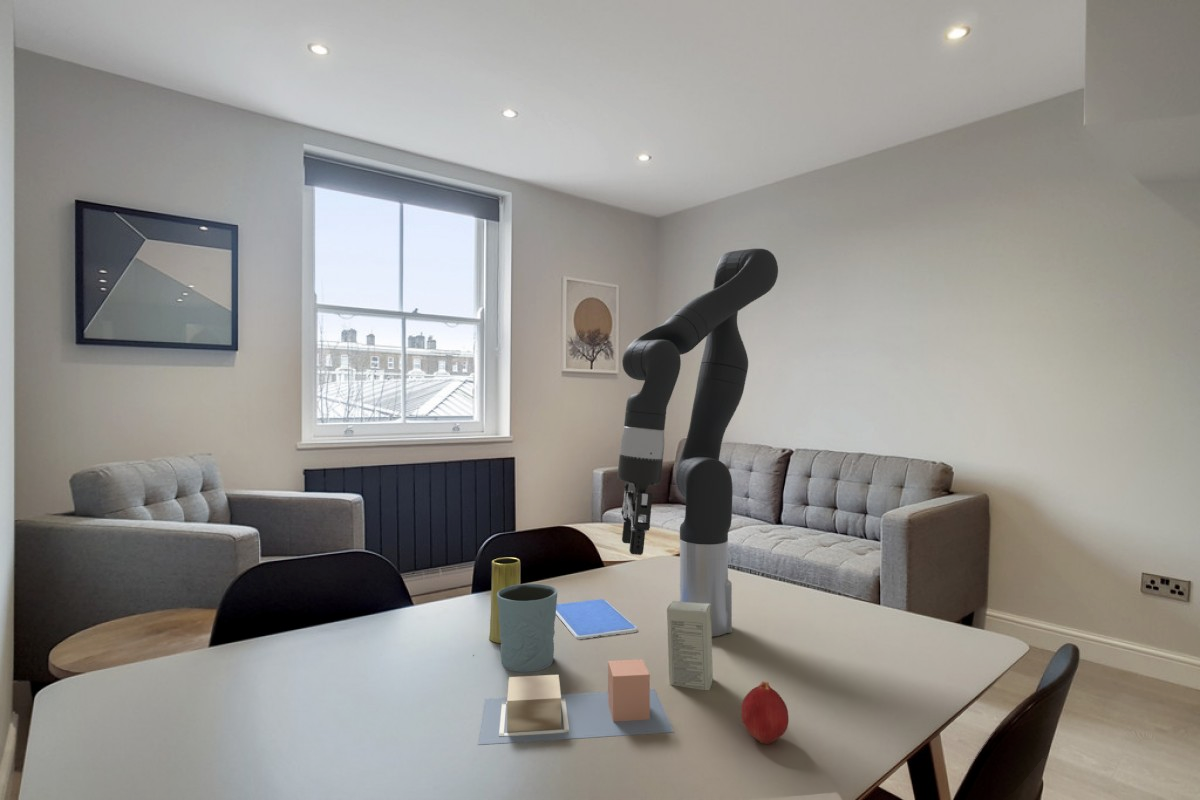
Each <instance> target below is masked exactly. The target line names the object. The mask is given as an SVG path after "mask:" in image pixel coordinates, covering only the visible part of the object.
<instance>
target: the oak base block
mask: <svg viewBox="0 0 1200 800" xmlns="http://www.w3.org/2000/svg"><path fill="white" fill-rule="evenodd" d="M559 676H560V675H559V674H546V675H525V676H524V675H522V676H509V677H508V683H507V685H508V686H507V697H506V698H507V732H518V731H534V730H550V729H561V694H562V693H561V684H560V677H559Z"/></svg>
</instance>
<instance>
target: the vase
mask: <svg viewBox="0 0 1200 800" xmlns="http://www.w3.org/2000/svg"><path fill="white" fill-rule="evenodd" d="M514 585H521V560H520V559H519V558H517V557H511V556H510V557H508V556H507V557H498V558H496V559H493V560H491V593H490V595H491V596H490V618H489V619H490V620H489V622H490V623H489V624H490V626H489V636H488V639H489V640H490V641H491V642H493V643H496V644H501V640H500V623H499V612H498V602H497V593H498V591H500V590H501V589H503V588H506V587H509V586H514Z"/></svg>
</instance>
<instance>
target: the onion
mask: <svg viewBox="0 0 1200 800" xmlns="http://www.w3.org/2000/svg"><path fill="white" fill-rule="evenodd" d="M740 714H741V715H740V716H741V721H742V724H743V726H744V727H745V729H746V730H747V732H748V733H749V735H751V737H753V738H755V739H756V740H757V742H759V743H761V744H767V745H768V744H772V743H773V742H775V741H776V740H778V739H779V738H781V736H783V735H784V734H785V732H786V731H787V729H788V726H789V720H790V719H789V711H788V707H787V703H786V702H785V701H784V700H783V698H782V697H781V695H780V693H779V692H778V691H776V690H775V689H773V688H772V687H771V686H770V685H769V681H766V680H763V681H761V683H760V684H759V685H758V686H756V687H754V688H752V689H751V690H750V691H749V692H748V693H747V694H746V695H745V696H744V699H743V700H742V704H741V713H740Z"/></svg>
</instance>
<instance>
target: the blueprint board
mask: <svg viewBox="0 0 1200 800" xmlns="http://www.w3.org/2000/svg"><path fill="white" fill-rule="evenodd" d="M670 733H675V731H674V729H673V726H672V724H671V722H670V720H669V718H668V715H667V713H666V711H665V709H664V707H663V704H662V702H661V700H660V698H659V696H658V692H657V691H656V689H655V688H653V689H652V688H651V689H650V719H647V720H631V721H615V722H613V720H612V716H611V712H610V708H609V705H608V691H602V692H601V691H600V692H584V693H581V692H580V693H567V694H566V693H564V694H563V693H561V729H550V730H534V731H518V732H507V697H491V698H484V703H483V709H482V716H481V722H480V730H479V734H478V736H479V737H478V742H477V746H483V745H484V746H485V745H497V744H498V745H499V744H514V743H515V744H516V743H531V742H543V741H544V742H545V741H546V742H547V741H559V740H560V741H561V740H562V741H563V740H574V739H575V740H577V739H591V738H593V739H594V738H606V737H607V738H608V737H620V736H622V737H623V736H624V737H625V736H638V735H652V734H653V735H655V734H670Z"/></svg>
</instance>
